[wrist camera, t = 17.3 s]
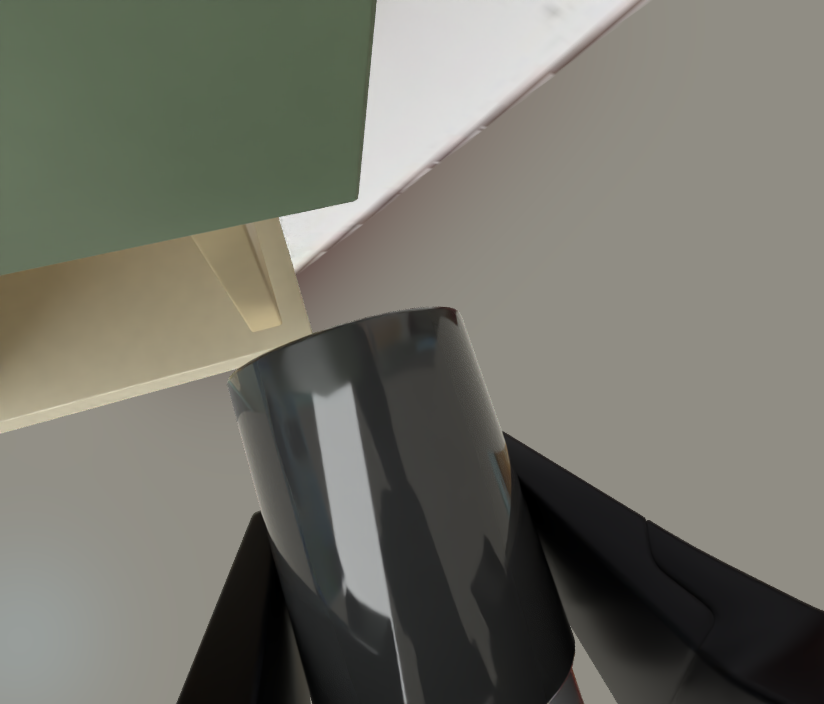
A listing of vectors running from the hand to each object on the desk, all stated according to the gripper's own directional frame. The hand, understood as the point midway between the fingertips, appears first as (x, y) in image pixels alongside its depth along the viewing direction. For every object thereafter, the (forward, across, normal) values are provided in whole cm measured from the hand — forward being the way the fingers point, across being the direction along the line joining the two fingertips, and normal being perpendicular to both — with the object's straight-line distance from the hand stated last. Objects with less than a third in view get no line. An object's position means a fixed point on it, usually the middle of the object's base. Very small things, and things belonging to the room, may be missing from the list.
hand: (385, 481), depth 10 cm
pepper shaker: (+1, 0, -3) cm, 3 cm away
